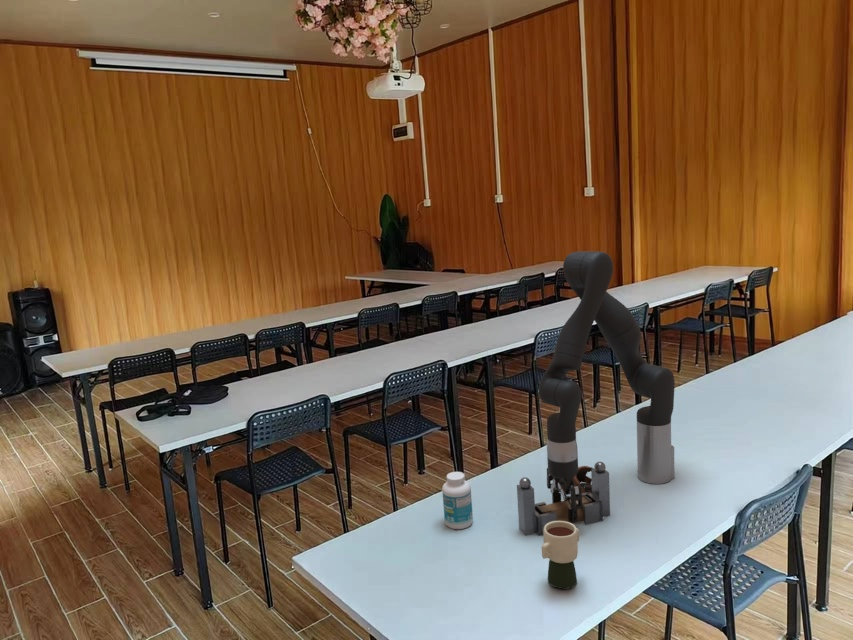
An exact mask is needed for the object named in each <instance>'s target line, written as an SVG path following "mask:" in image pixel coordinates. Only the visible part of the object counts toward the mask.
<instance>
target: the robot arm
mask: <svg viewBox="0 0 853 640" xmlns="http://www.w3.org/2000/svg"><path fill="white" fill-rule="evenodd" d="M562 270H563V275H564V279H565V280H566V283H568V285H569V287H570V288H571V289H572V291H573V292H574V293H575V294H576V296H577V297H578V298H579V299H580V302H579V304H578V305H577V307H576V308H575V310H574V311H573V312H572V314H571V315H570V317H569V318H568V319H567V320H566V321H565V323H564V325H563V326H562V328H561V330H560V332H559V334H558V337H557V341H556V345H555V349H554V354H553V357H552V360H551V361H550V363H549V364H548V366H547V369H546V370H545V372H544V373H543V376H542V377H541V379H540V381H539V385H538V396H539V399H540V401H541V402H543V403H544V404H547V405H551V406H554V407H558V408H560V409H559V412H556V413H555V412H554V413H552V414H550V415H548V416H547V419H546V433H547V434H546V436H547V440H546V441H547V442H546V456H547V458H546V459H547V468H546V487H547V489H548V490H549V491H550V494H551V498H552V503H557V502H561V501H562V499H563V501H566V503H567V506H568V520H569V522H570V523H574V522H577V521H578V513H577V510H578V509H582V508H583V506H582V491H581V487H582V486H581V484H580V485H578V486H576V485H575V483H574V479H573V478H574V476H575V475H576V474H577V473H578V467H579V456H578V455H579V451H578V441H577V429H576V427H577V426H576V424H577V423H576V422H577V418H578V413H579V408H580V405H581V402H582V389H581V387H580V385H579V384H578V382H577V381H575V380H571V379H567V378H564V377H565V376H566V375H567V373H568V372H571V371H578V370H579V369H581V367H582V364H583V360H584V356H585V351H586V348H587V343H588V339H589V337H590V332H591V329H592V327H593V324H594V322H595V324H596V325H597V326H598V329H599V331H600V333H601V334H602V336H603V339H604V340H605V341H606V343H607V344H608V345H609V347H610V348H611V351H612V352H613V354H614V356H615V358H616V359H617V361H618V363H619V365H620V367H621V369H622V372H623V374H624V375H625V378H626V380H627V383H628V384H629V385H628V386H629V387H630V388H631V390H632V391H633V392H634V393H635V394H637V395H639V396H640V397H641V396H642V397H645V398H649V399H650V404H649V405H647V406H642V407H640V408H639V409H638V410H637V411H636V444H637V445H636V448H637V449H636V450H637V451H636V455H637V459H636V461H637V465H636V466H637V469H636V470H637V478H638V479H639V480H640V481H641V482H644V483H648V484H652V485H654V484H655V485H661V484H666V483H668V482H671V480H672V479H675V477H676V476H675V446H674V445H673V444H672V415H673V412H674V406H675V405H674V403H675V401H674V399H675V386H676V385H675V384H676V383H675V376H674V373H673V371H672V370H671V369H670V368H668V367H664V366H661V365H655V364H651V363H648V362H647V361H646V360H645V359H644V357H643V356H642V354H641V352H640V350H639V349H640V345H641V341H642V330H641V328H640V325H639V324H638V322H637V320H636V318H635V316H634V315H633V313H632V312H631V311H630V309H628V307H626V305H625V304H624V303H622V302H621V301H619V300H618V299H617V298H616V297H615V296H613V295H611V294H610V293H609V292H608V289H609V287H610V284H611V280H612V278H613V277H612V276H613V273H614V263H613V259H612V258H611V256H610V255H609V254H608V253H607V252H604V251H593V250H592V251H588V250H587V251H583V250H581V251H574V252H571V253H569V254H568V255H567V256H566V257H565V258H564V261H563V265H562ZM551 482H552V483H551ZM570 500H571V503H570ZM552 503H551V504H552ZM574 524H575V523H574Z"/></svg>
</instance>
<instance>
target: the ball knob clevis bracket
mask: <svg viewBox="0 0 853 640" xmlns="http://www.w3.org/2000/svg"><path fill="white" fill-rule="evenodd" d="M606 466H607V465H606V463H604V462H603V461H596V462H595V463H594V467H593V468H594V469H591V471H590V472H591V473H590V474H591V476H590V477H591V479H592V481H591V485H592V494H591V493H590V492H586V493H582V497H583V496H584V495H586V496H587V497H588V498H589V499H591V500H592V503H589V504H585V505H583V520H584V521H583V524H584V525H585V526H587V525H589V524H595V523H599V522H603V521H604V518H605V517H610V516H611V499H610V498H611V497H610V496H611V495H610V494H611V493H610V489H611V488H610V472H609V471H608V470H606V469H607V468H606ZM531 484H532V481H531V480H530V478H528V477H524V476H523V477H522V478H521V479H519V484H517V485H516V493H517V494H516V495H517V496H516V497H517V498H516V499H517V512H518V514H517V515H518V529H519V530H520V532H521V533H522V534H523V535H524V536H526V537H527V536H529V535H535V534H536V535H537V536H538V537H539V536H544V532H543V530H544V526H545V525H546V524H547V523H549V522H552V521H557V518H556V512H550V513H545V514H541V515H540V514H539V513H538V512H537V511H536V506H543V505H547V503H546V502H545V501H542V502H538V503H535V502H536V501H535V499H536V498H535V488H534V487H533V486H532V485H531Z"/></svg>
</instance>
